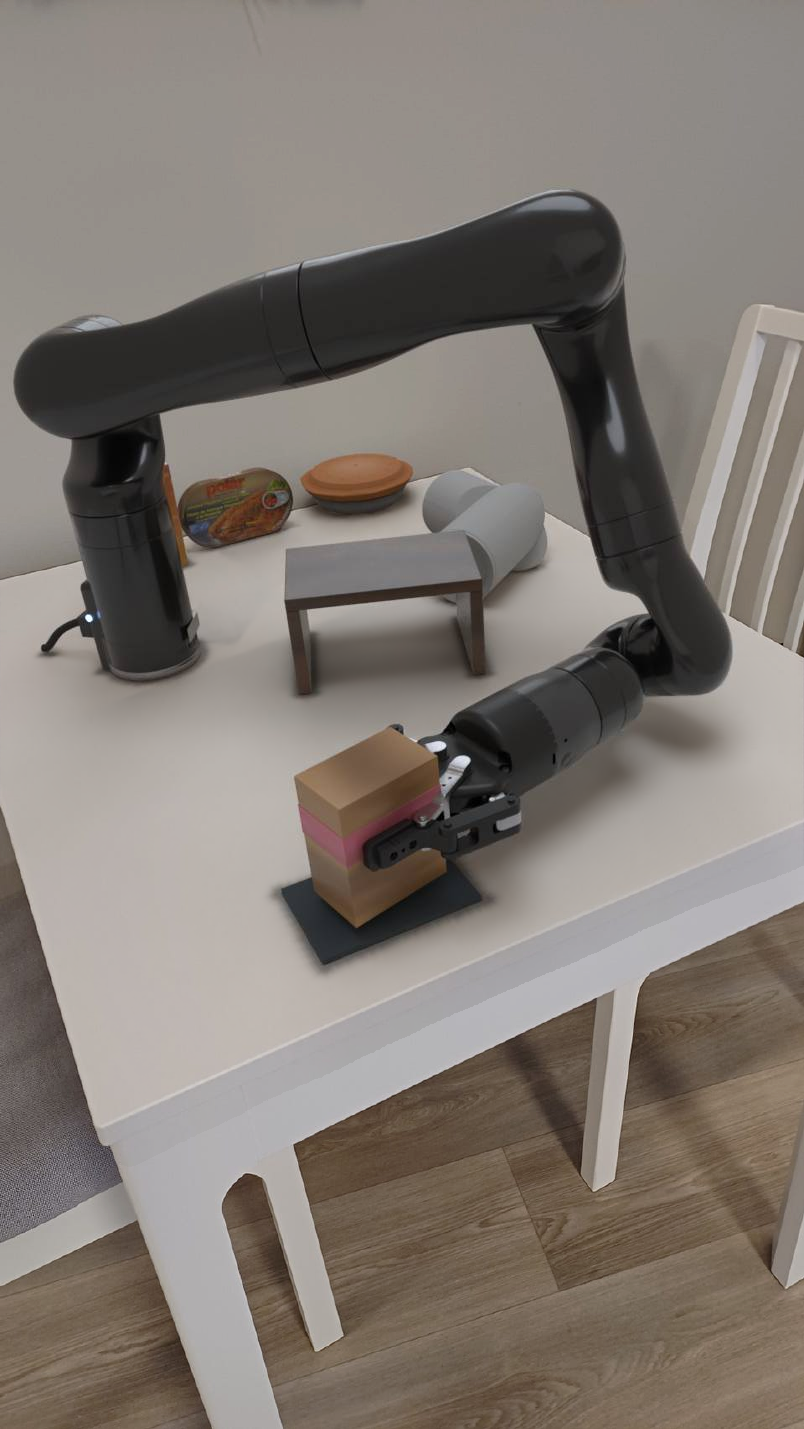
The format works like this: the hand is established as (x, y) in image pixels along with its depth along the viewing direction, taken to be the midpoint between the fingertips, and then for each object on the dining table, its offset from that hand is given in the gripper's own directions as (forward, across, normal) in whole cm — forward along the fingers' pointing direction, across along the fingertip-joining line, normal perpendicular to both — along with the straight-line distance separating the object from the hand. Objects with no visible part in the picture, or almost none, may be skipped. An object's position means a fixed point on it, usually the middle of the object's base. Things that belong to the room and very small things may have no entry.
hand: (341, 837), depth 65 cm
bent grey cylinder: (-44, -36, +7) cm, 58 cm away
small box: (-18, -67, +7) cm, 70 cm away
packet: (-3, 0, +6) cm, 6 cm away
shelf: (-25, -27, +7) cm, 37 cm away
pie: (-49, -65, +7) cm, 82 cm away
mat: (-2, 0, +7) cm, 7 cm away
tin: (-31, -66, +7) cm, 74 cm away
